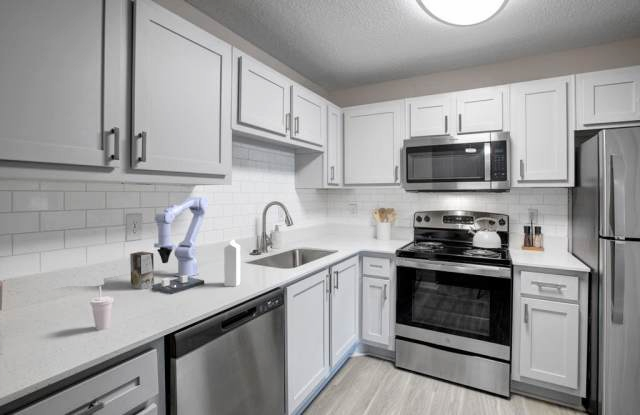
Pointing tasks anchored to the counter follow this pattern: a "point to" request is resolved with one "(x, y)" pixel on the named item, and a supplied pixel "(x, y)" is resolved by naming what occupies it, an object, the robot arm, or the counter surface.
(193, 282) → the console
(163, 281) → the block
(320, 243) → the counter surface
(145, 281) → the coffee box
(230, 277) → the milk
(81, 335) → the counter surface
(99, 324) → the smoothie
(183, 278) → the block
